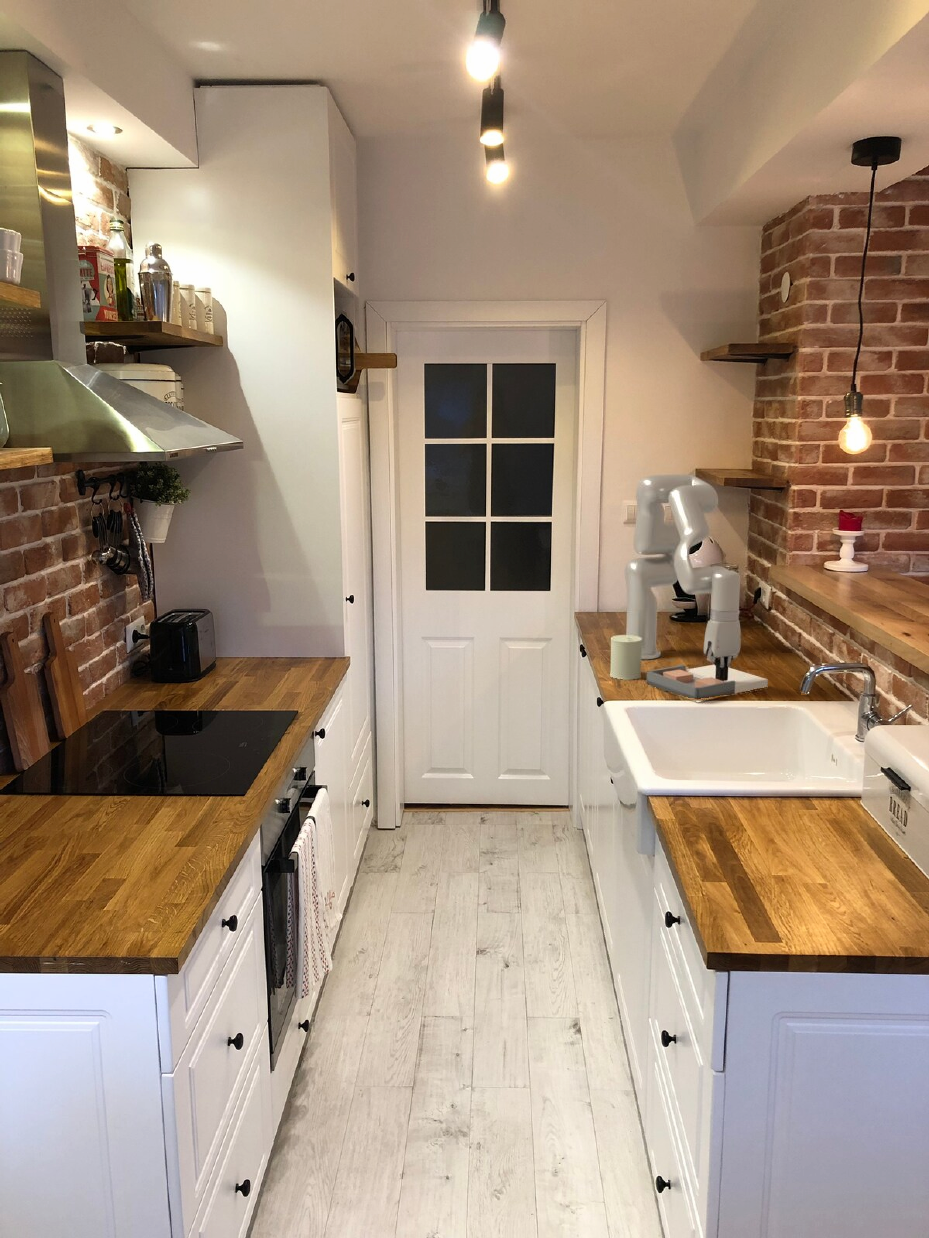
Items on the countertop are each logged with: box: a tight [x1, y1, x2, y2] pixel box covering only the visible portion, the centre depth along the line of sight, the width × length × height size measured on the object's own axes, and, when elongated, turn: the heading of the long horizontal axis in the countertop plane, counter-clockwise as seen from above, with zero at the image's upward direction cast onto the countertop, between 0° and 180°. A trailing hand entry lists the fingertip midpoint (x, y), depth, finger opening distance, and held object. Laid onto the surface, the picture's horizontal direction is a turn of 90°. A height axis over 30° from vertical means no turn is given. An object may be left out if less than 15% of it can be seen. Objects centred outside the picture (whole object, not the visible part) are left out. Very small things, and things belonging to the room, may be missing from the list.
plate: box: [686, 664, 769, 693], centre depth 281 cm, size 20×13×2 cm, turn 30°
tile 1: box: [663, 670, 693, 683], centre depth 279 cm, size 6×6×2 cm
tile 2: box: [695, 677, 724, 687], centre depth 270 cm, size 6×6×2 cm
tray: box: [645, 664, 736, 699], centre depth 274 cm, size 21×14×4 cm
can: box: [609, 634, 642, 681], centre depth 288 cm, size 9×9×12 cm
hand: (721, 679), depth 272 cm, fingers closed
